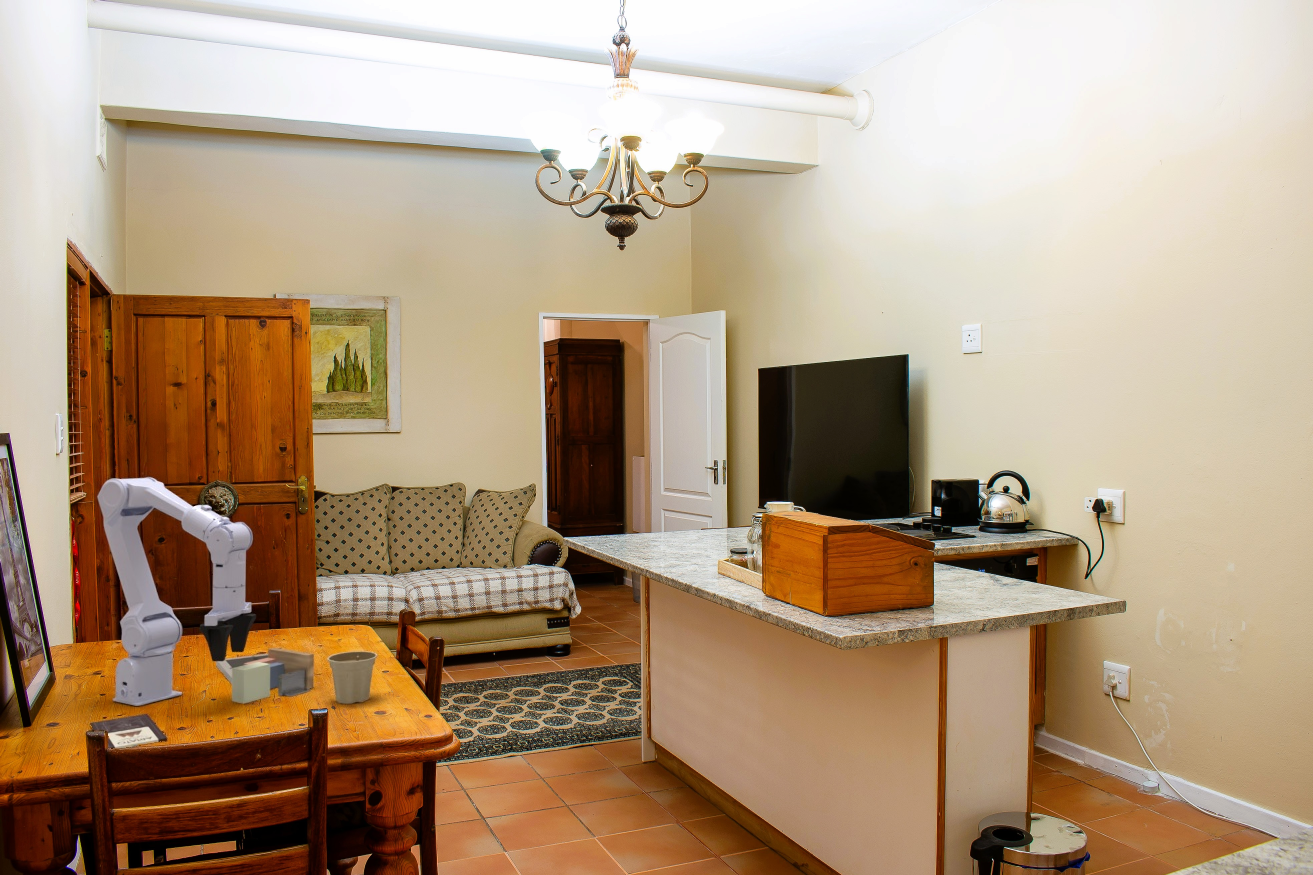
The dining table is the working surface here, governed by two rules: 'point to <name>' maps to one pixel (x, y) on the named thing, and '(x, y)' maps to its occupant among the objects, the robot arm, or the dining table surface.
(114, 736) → the chocolate bar
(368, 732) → the dining table surface
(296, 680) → the bookend
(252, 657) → the picture frame
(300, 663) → the shelf wall
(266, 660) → the shelved books
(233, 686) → the beige rectangular block
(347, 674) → the flower pot
